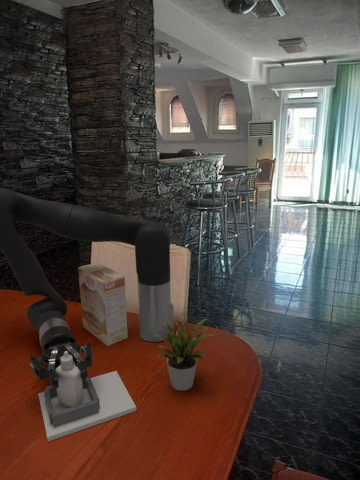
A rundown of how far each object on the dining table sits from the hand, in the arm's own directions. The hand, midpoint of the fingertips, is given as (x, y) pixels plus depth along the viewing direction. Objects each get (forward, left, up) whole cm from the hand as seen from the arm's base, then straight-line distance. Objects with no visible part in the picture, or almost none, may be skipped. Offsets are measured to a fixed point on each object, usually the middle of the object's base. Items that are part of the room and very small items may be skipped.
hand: (70, 380), depth 75 cm
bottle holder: (-3, -3, -9) cm, 10 cm away
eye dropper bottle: (0, -3, -7) cm, 8 cm away
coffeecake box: (-15, -31, -9) cm, 35 cm away
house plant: (-26, +1, -9) cm, 28 cm away
